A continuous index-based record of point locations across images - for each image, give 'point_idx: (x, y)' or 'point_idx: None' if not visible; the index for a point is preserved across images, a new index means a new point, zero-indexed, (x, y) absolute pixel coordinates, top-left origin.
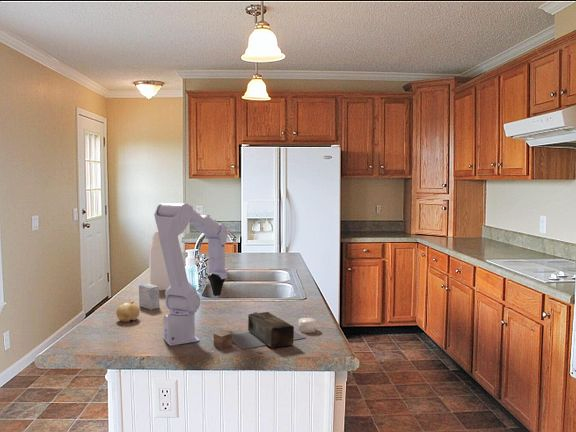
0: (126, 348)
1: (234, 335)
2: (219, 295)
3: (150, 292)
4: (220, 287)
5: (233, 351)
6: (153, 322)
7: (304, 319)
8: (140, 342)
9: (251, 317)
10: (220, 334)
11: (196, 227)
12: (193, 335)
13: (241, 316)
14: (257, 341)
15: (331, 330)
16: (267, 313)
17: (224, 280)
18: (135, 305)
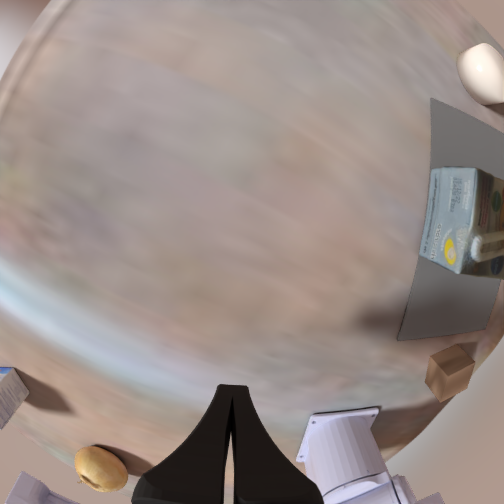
0: None
1: (416, 314)
2: (248, 390)
3: (5, 420)
4: (253, 432)
5: (475, 349)
6: (139, 439)
7: (489, 69)
8: None
9: (478, 276)
10: (457, 388)
11: None
12: (368, 427)
13: (198, 162)
14: None
15: (489, 42)
16: (492, 193)
17: (301, 474)
18: (98, 477)
